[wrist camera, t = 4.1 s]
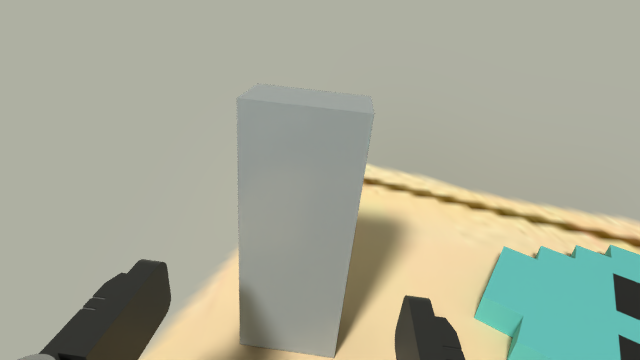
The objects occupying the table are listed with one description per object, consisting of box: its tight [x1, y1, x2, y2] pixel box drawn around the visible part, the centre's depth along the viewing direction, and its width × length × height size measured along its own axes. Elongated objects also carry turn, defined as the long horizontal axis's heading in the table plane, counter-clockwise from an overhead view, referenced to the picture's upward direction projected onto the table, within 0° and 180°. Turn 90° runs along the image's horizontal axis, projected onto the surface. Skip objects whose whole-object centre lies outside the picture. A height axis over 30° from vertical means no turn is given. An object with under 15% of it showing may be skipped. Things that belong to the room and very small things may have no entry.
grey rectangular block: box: [237, 84, 374, 358], centre depth 17 cm, size 5×3×13 cm, turn 85°
